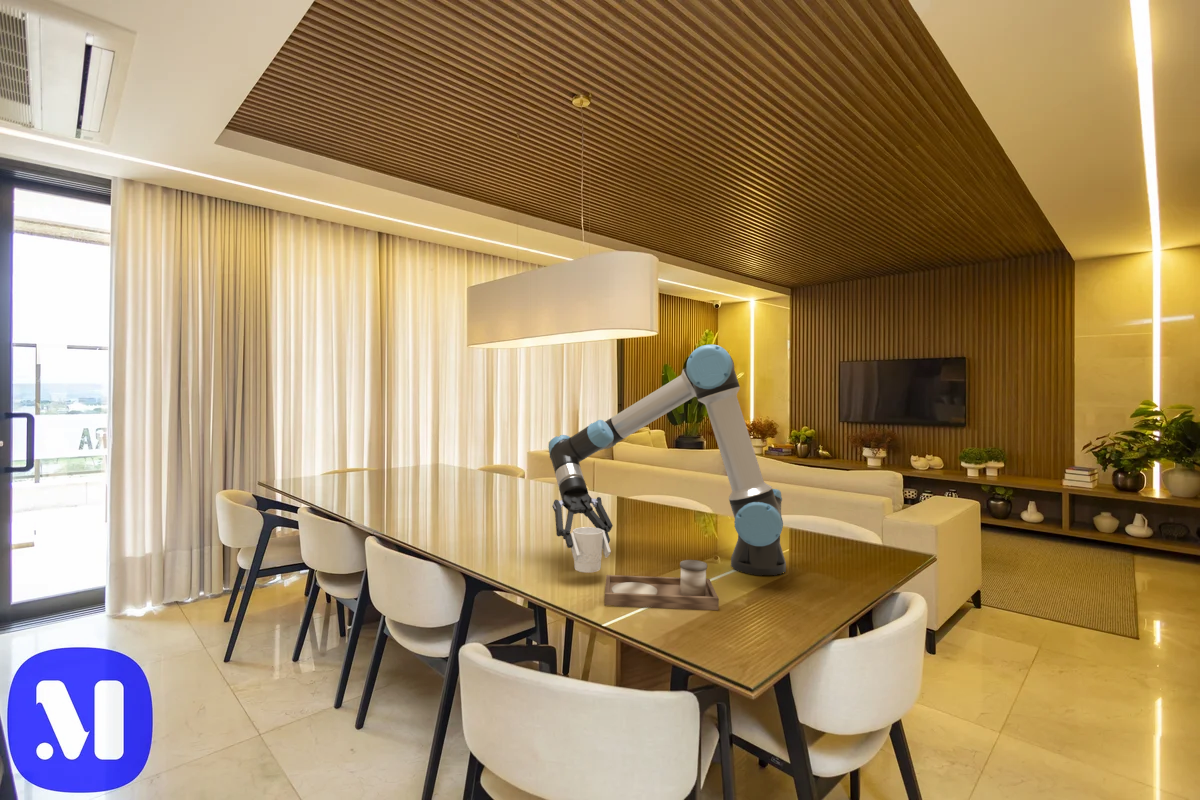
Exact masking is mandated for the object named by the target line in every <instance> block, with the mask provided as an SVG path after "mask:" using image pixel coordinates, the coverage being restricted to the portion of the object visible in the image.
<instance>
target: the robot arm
mask: <svg viewBox="0 0 1200 800" xmlns="http://www.w3.org/2000/svg"><path fill="white" fill-rule="evenodd" d="M740 389H741V386H740V383H739V379H738V376H737V373H736V371H735V363H734V360H733V358H732V356H731V354H730V353H729V352H728V351H727V350H726V348H724V347H722V346H720V345H717V344H714V343H713V344H710V343H709V344H705V345H701V346H698V347H697V348H695V349H693V351H692V352H691V354H690V355H689V357H688V359H687V362H686V367H685V368H683V369H682V371H681V374H680V375H679V376H677V377H676V378H673V379H672V380H670V381H669V382H668V383H665V384H664V385H662V386H661V387H659V388H658V389H656V390H654V391H653V392H651V393H649V394H648V395H646V396H644V397H642V398H641V399H639V400H638V401H636V402H635V403H633V404H632V405H629V406H628V407H626V408H625V409H622V411H620V412H618V413H617V414H614V416H612V417H611V418H609V419H607V420H605V421H604V420H603V419H597V420H596V421H594V422H592V423H590V424H588V426H586V427H584V428H583V429H581V430H580V431H578V432H577V433H574V435H572V436H569V435H567V434H560V435H558V436H556V435H555V436H554V437H553V438H552V439H550V441H549V443H548V446H547V447H548V453H549V458H550V460H551V464H552V466H553V467H552V468H553V470H554V475H555V479H556V483H557V486H558V490H559V494H560V498H561V500H560V499H554V501H553V503H552V507H551V508H552V509H553V511H554V520H555V532H556V537H562V539H563V540H565V544H566V547H567V548H568V549H570V550H571V553H572V558H573V561H577V560H578V558H579V556H580V554H579V550H578V546H577V543H576V539H575V536H574V533H573V532H571V530H572V525H573V519H574V515H577V514H583V515H584V516H585V517H586V518H588V520H589V521H590V522H591V523H592V525H593V526H594V528H600V529H602V530H603V544H602V553H603V555H604V558H605V559H606V558H609V556H610V554H611V553H612V552H611V548H610V545H609V544H610V542H611V538H610V535H609V533H610V532H611V530H612V528H613V527H614V525H613V522H612V521H611V519H610V517H609V515H608V513H607V512H606V509H605V508H604V505H603V503H602V502H603V501H602V497H601V496H597V497H596V498H592V497H591V496H590V495H589V491H588V487H587V484H586V480H585V478H584V474H583V471H582V468H581V465H580V462H582V461H583V460H585V459H587V458H588V457H591V456H592V455H593V454H595V453H598V452H599V451H603V450H608V449H611V448H613V447H615V446H616V444H618V443H619V442H621V441H623V440H625V439H626V438H627V437H630V435H632V434H634V433H636V432H638V431H639V430H642V428H644V427H646V426H647V425H650V424H651V423H652V422H654V421H656V420H658V419H660V418H661V417H662V416H664V415H666V414H668V413H670V412H671V411H672V410H674V409H676V408H678V407H679V406H682V405H683V404H684V403H687V402H688V401H689V400H691V399H693V398H695V397H696V398H697V401H698V402H699V403H701V404H703V405H704V406H705V409H706V411H707V415H708V418H709V422H710V424H711V428H712V431H713V434H714V438H715V440H716V443H717V447H718V449H719V454H720V456H721V460H722V463H723V466H724V470H725V472H726V476H727V478H728V479H727V480H728V482H729V485H730V488H731V492H730V495H729V496H728V500H729V504H730V507H731V511H732V514H733V517H734V528H735V531H736V533H737V540H736V544H735V547H734V549H733V552H732V554H731V558H730V567H731V568H732V567H733V568H732V569H734V570H736V571H738V570H739V571H738V572H740V571H742V572H741V573H744V572H745V573H744V574H748V573H749V574H748V575H753V574H754V575H755V576H762V575H774V576H778V575H777V574H780V575H782V574H781V573H783V572H785V573H786V572H787V571H786V570H787V568H786V567H787V562H786V559H785V556H784V551H783V549H782V545H781V534H782V531H783V529H784V527H783V526H784V520H783V517H782V501H783V498H782V491H781V490H780V489H779V488H778V489H777V488H773V486H771V485H770V484H768V483H766V482H764V481H765V480H764V478H763V474H762V472H761V469H760V465H759V463H758V462H759V461H758V458H757V456H756V452H755V450H754V446H753V443H752V440H751V437H750V433H749V430H748V428H747V424H746V420H745V418H744V415H743V412H742V409H741V405H740V402H739V399H738V392H739V391H740ZM591 504H592V505H591ZM563 507H564V508H565V509H566V510H567V514H566V515H567V516H566V522H565V527H564V523H563V521H564V519H563V509H562V508H563ZM593 508H594V509H595V510H594V509H593ZM783 574H784V573H783ZM754 575H753V576H754Z"/></svg>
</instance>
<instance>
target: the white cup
mask: <svg viewBox="0 0 1200 800" xmlns="http://www.w3.org/2000/svg"><path fill="white" fill-rule="evenodd" d="M572 533H574V536H575V539H576V543H577V546H578V550H579V554H580V556H579V558H578V560H577V561H574V560H573V561H574V562H573V563H574V564H573V565H574V569H575V571H577V572H579V573H589V574H590V573H594V572H599V571H600V570H601V568H602V554H603V549H602V544H603V530H602V529H600V528H596V527H595V526H594V527H593V526H592V527H591V526H590V527H589V526H582V527H576V528H574V529H572Z"/></svg>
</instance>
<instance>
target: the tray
mask: <svg viewBox="0 0 1200 800" xmlns="http://www.w3.org/2000/svg"><path fill="white" fill-rule="evenodd" d="M679 567H680V577H671V576H649V575H648V576H647V575H645V576H643V575H621V574H619V575H618V574H617V575H616V574H606V576H605V586H604V587H605V588H604V606H605V605H614V606H613V607H625V606H630V607H629V608H650V607H651V608H655V609H676V610H677V609H679V610H680V609H681V610H701V611H702V610H704V611H705V610H707V611H719V605H720V604H719V602H720V601H719V600H720V598H719V596H718V594H717V592H716V590H715V588H714V586H713V584H712V581H711V579H710V578H707V569H708V563H707V562H705V561H702V560H697V559H685V560H682V561H680V562H679Z"/></svg>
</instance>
